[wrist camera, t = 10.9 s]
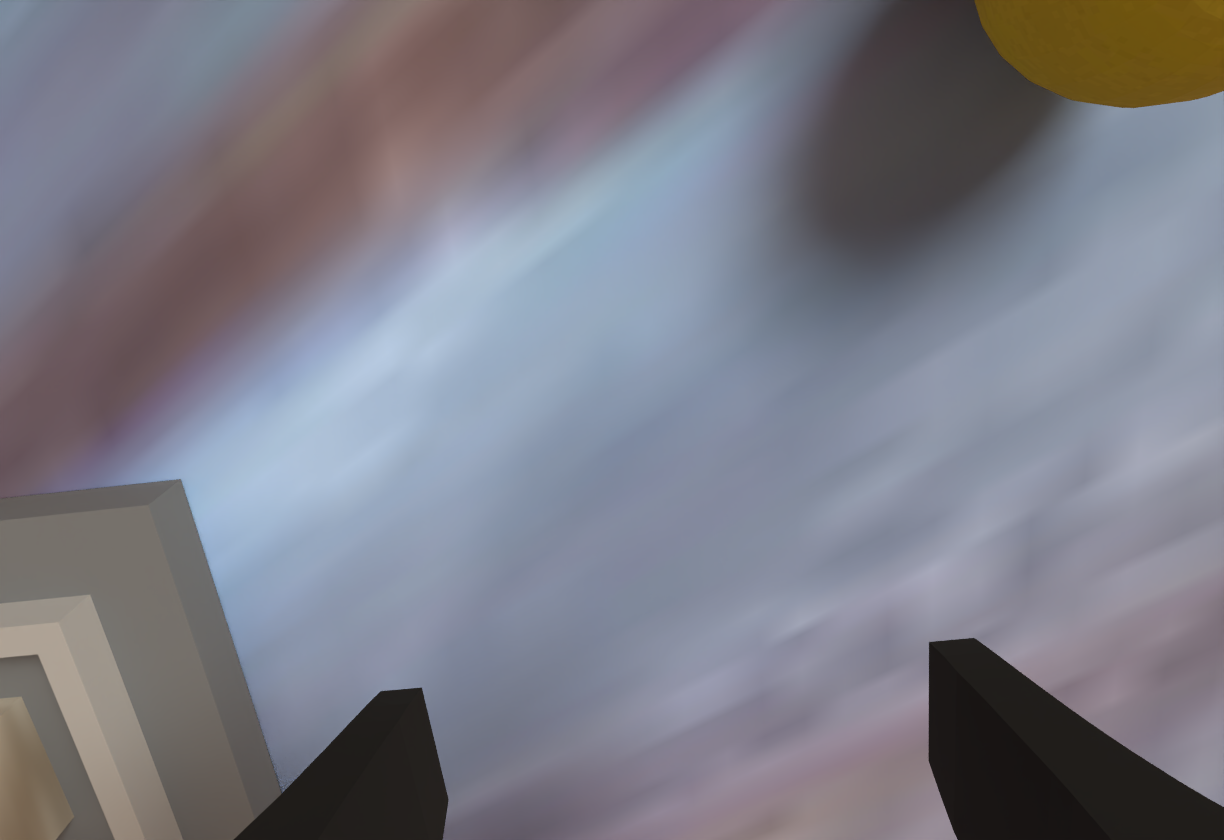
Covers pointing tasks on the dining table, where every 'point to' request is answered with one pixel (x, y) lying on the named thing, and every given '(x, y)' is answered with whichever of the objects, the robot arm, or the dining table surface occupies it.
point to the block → (27, 780)
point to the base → (129, 665)
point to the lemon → (1112, 47)
